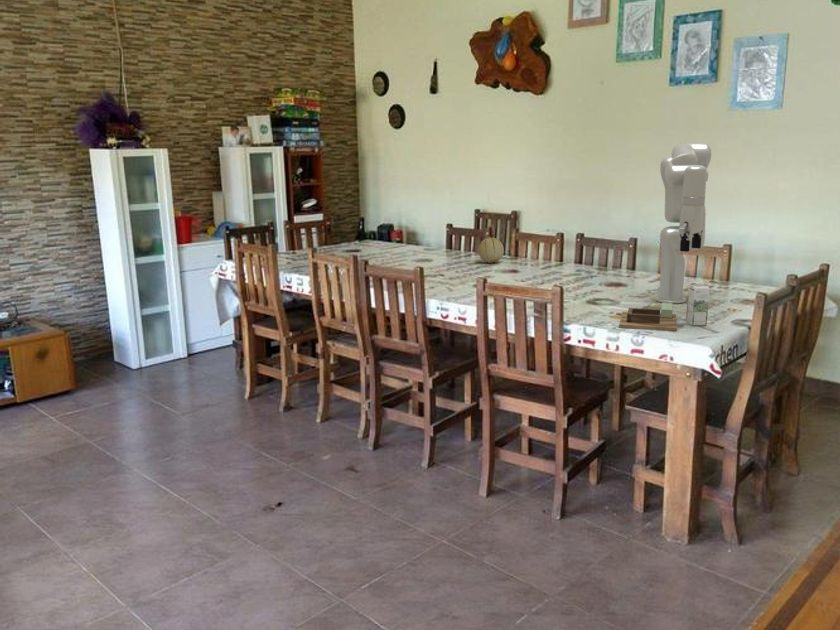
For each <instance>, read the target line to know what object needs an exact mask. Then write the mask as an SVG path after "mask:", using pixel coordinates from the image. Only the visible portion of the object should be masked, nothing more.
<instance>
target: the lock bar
mask: <svg viewBox="0 0 840 630" xmlns="http://www.w3.org/2000/svg"><path fill="white" fill-rule="evenodd" d="M673 312H674V311H673V303H663V302H661V308H660V313H661V317H665V318H672V314H673Z"/></svg>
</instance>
